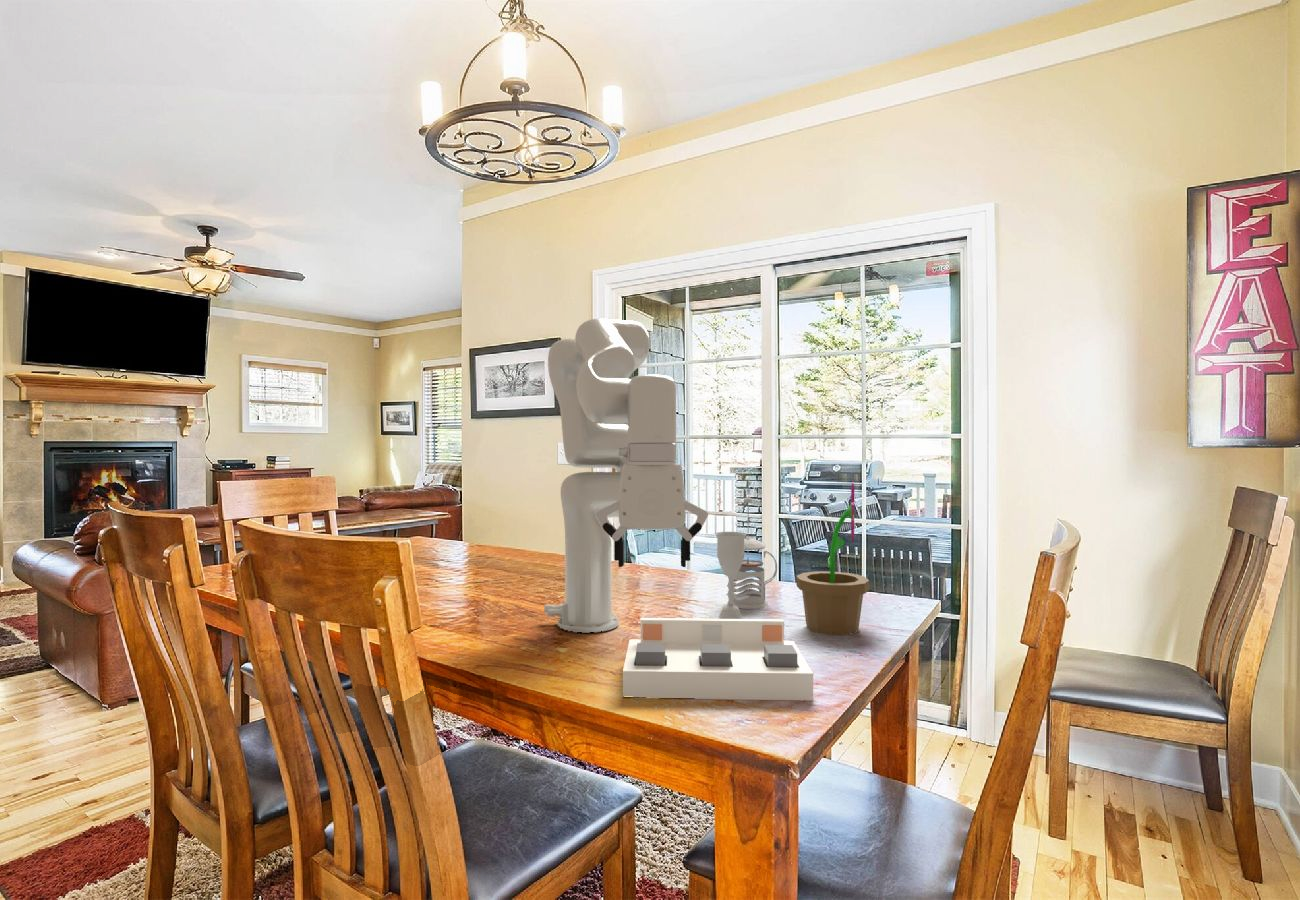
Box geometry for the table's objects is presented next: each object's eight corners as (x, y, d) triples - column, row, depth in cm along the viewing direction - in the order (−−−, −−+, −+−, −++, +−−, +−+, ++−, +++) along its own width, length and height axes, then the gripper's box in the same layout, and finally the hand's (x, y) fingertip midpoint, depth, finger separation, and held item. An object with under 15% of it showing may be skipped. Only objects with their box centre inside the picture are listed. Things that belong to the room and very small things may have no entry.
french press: (726, 598, 163) (726, 495, 162) (774, 599, 162) (775, 495, 161) (727, 608, 153) (727, 498, 153) (778, 609, 152) (779, 499, 152)
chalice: (712, 612, 149) (712, 531, 149) (742, 612, 149) (742, 531, 149) (718, 621, 142) (718, 536, 141) (749, 620, 142) (750, 536, 142)
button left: (635, 671, 102) (635, 651, 102) (637, 662, 106) (637, 643, 106) (664, 671, 102) (664, 652, 102) (665, 662, 106) (665, 643, 106)
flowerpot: (869, 641, 128) (870, 484, 128) (793, 634, 132) (793, 482, 132) (868, 621, 142) (869, 480, 141) (799, 616, 146) (799, 478, 145)
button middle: (701, 672, 102) (701, 652, 102) (700, 662, 106) (700, 643, 106) (730, 672, 101) (730, 652, 101) (728, 663, 106) (728, 644, 106)
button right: (768, 673, 101) (768, 653, 101) (764, 663, 106) (764, 644, 106) (797, 673, 101) (797, 653, 101) (792, 663, 106) (792, 644, 105)
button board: (622, 698, 99) (622, 644, 99) (629, 662, 115) (629, 616, 115) (813, 700, 98) (813, 646, 98) (793, 664, 114) (793, 617, 114)
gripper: (593, 455, 100) (594, 569, 100) (709, 455, 100) (709, 570, 100) (598, 455, 108) (599, 561, 108) (706, 455, 107) (706, 561, 108)
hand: (652, 565), depth 104 cm, fingers open, 9 cm apart
